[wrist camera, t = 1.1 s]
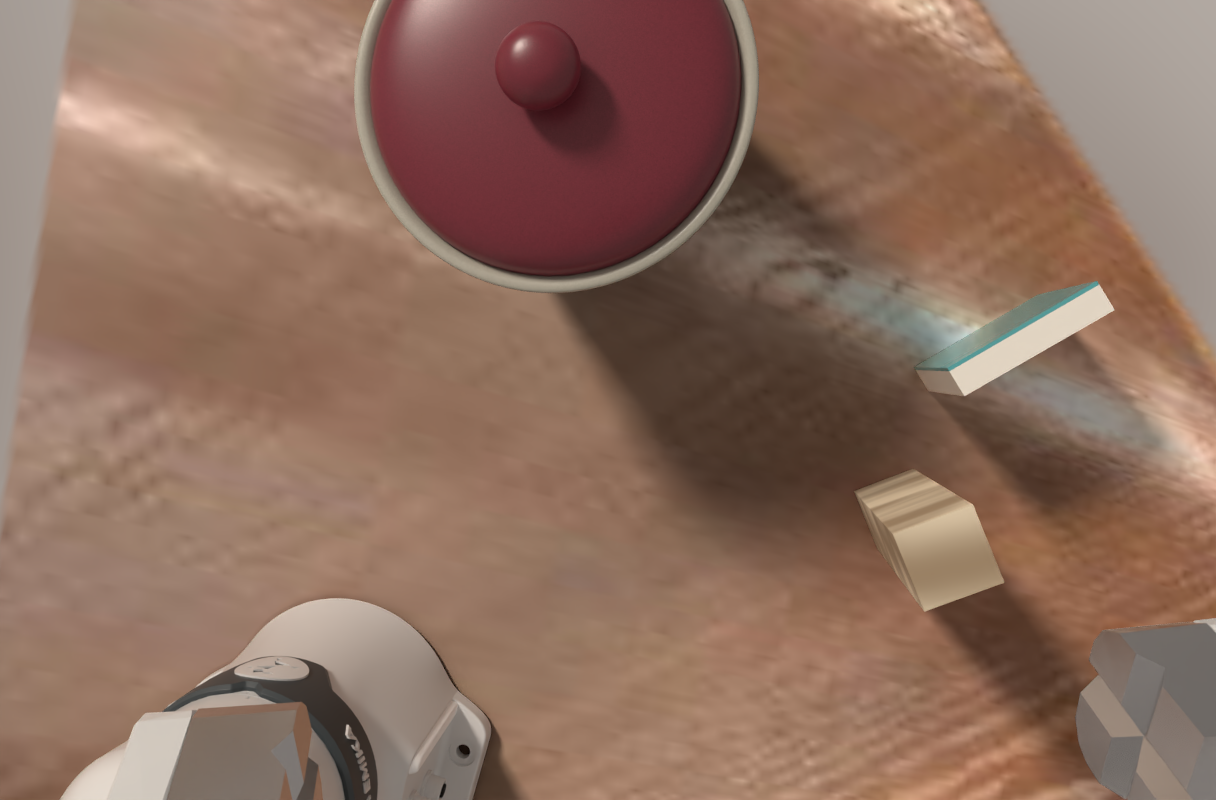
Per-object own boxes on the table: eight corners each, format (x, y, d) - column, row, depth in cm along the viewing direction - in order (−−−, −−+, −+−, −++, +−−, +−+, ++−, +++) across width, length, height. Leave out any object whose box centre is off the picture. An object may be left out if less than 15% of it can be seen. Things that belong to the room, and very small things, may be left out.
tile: (1053, 318, 61) (1114, 309, 51) (928, 391, 62) (964, 396, 52) (1038, 294, 61) (1096, 280, 51) (913, 366, 62) (947, 367, 52)
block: (936, 526, 62) (1004, 582, 46) (877, 548, 63) (924, 611, 47) (913, 468, 62) (973, 504, 46) (853, 491, 63) (893, 534, 47)
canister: (392, 122, 65) (230, 8, 44) (638, -60, 63) (590, -270, 42) (559, 370, 65) (474, 373, 44) (814, 193, 63) (853, 108, 42)
